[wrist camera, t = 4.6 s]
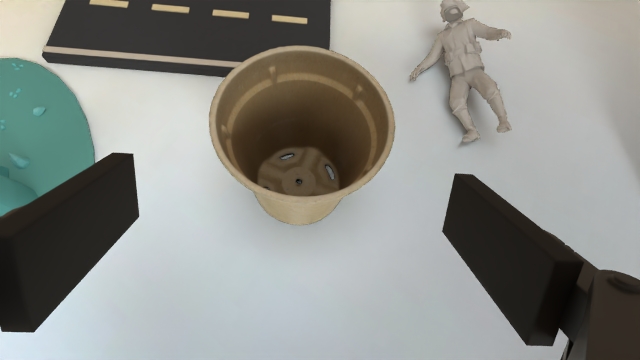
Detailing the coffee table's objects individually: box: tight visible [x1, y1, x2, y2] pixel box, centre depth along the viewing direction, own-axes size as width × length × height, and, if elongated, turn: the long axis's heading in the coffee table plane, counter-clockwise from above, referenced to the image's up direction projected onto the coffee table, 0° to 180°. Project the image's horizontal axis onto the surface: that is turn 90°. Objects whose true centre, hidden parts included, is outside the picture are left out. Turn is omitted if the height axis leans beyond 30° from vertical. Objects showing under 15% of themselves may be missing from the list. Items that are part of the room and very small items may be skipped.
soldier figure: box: [410, 0, 511, 142], centre depth 30 cm, size 8×5×12 cm
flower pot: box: [209, 45, 395, 225], centre depth 23 cm, size 9×9×9 cm
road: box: [42, 0, 331, 77], centre depth 32 cm, size 22×12×1 cm, turn 88°
